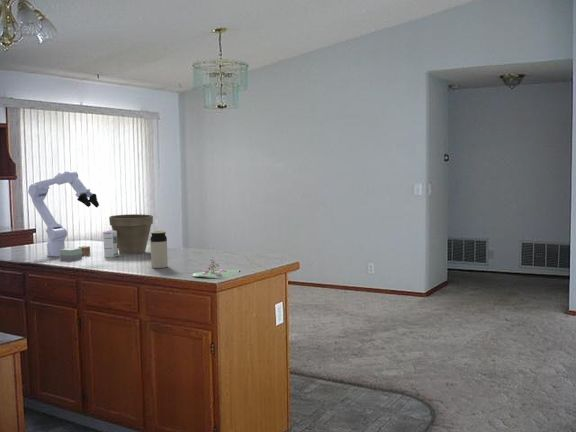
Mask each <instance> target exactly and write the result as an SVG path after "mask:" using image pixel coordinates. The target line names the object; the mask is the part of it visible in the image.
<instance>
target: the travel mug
mask: <svg viewBox="0 0 576 432" xmlns="http://www.w3.org/2000/svg"><path fill="white" fill-rule="evenodd" d="M150 233H151V236H150V239H149V240H150V259H151V260H150V261H151V265H150V266H151V268H153V269H164V268H167V267H169V266H168V265H169V263H168V260H169V259H168V258H169V257H168V240H167V239H168V238H167V236H166V234H167V231H166V230H152V231H151V230H150Z"/></svg>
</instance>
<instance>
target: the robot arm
mask: <svg viewBox="0 0 576 432" xmlns="http://www.w3.org/2000/svg"><path fill="white" fill-rule="evenodd" d="M64 184H69V185H70V186H71V187H72V189H73V190H74V191H75V194H74V195H75V196H76V198H77V199H76V200H77V202H78V201H79V202H81V203H82V204H83V205H85V206H86V207H88V208H90V207H91V205H93V206H94V207H95V208H98V207H99V206H100V203H99V201H98V196H97V194H96V193H92V192H91V189H90V188H87V186H85V185H84V183H83V182H82V181H81V179H80V178H79V174H78V172H77V171H73V170H72V171H71V170H70V171H69V170H68V171H67V170H66V171H64V172H63V173H61V172H59V173H57V174H56V175H55V176H54V178H49V179H45V180H40V181H38V182H37V181H36V182H34V183H31V184H30V185H29V187H28V191H27V193H28V194H29V196H30V198H31V202H32V204H33V206H34V207H35V209H36V210H37V212H38V214H39V215H40V217H41V219H42V221H43V222H44V224H45V225H46V230H45V232H46V235H47V237H48V240H49V241H48V242H47V244H46V248H47V249H46V251H47V252H46V253H47V255H46V256H47V257H56V258H57V257H58V258H59V257H60V250H61V249H66V246H65V241H66V238H67V237H68V231H67V229H66V228H65V227H63V226H62V224H60V223H58V222H57V220H56V219H55V217H54V216H53V214H52V213H51V211H50V210H49V208H48V207H47V205H46V203H45V201H44V200H45V199H46V198H47V195H48V193H49V189H50V186H52V185H58V186H59V185H64Z"/></svg>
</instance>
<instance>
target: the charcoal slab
mask: <svg viewBox="0 0 576 432" xmlns="http://www.w3.org/2000/svg"><path fill="white" fill-rule="evenodd" d="M59 257H60V261H71V262H72V261H78V260H82V259H83V256H82V254H78V255H72V256H67V255H60V256H59Z"/></svg>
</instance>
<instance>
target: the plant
mask: <svg viewBox="0 0 576 432" xmlns="http://www.w3.org/2000/svg"><path fill="white" fill-rule="evenodd" d="M210 262H211V263H209V267H208V268H207V269H208V270H207V269H204V270H203V271H201V272H200V271H199V272H194V273H192V276H191V277H195V278H205V279H207V278H208V279H225V278H230V277H232V276H235V275H237V274H239V273H240V272H239V270H240V269H224V268H222V269H219V270H215V269H216V268H217V267H220V265H219V263H216V261H215V260H214V257H213V256H212V259H210ZM215 263H216V264H215ZM238 272H239V273H238Z"/></svg>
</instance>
